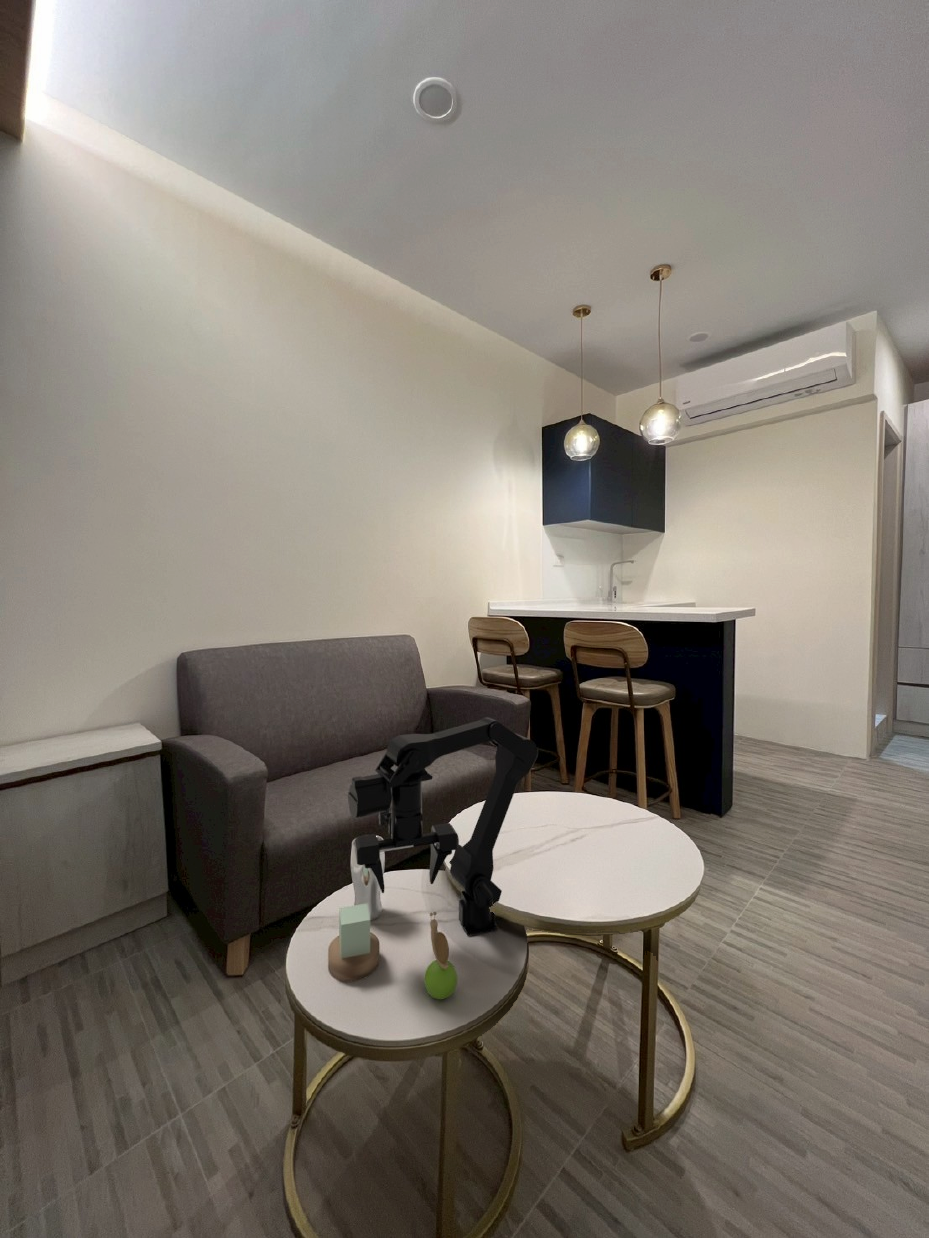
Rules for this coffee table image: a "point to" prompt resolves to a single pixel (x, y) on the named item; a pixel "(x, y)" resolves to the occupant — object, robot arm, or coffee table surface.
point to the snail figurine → (440, 966)
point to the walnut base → (353, 961)
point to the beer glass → (366, 884)
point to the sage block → (354, 930)
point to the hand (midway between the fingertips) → (407, 887)
